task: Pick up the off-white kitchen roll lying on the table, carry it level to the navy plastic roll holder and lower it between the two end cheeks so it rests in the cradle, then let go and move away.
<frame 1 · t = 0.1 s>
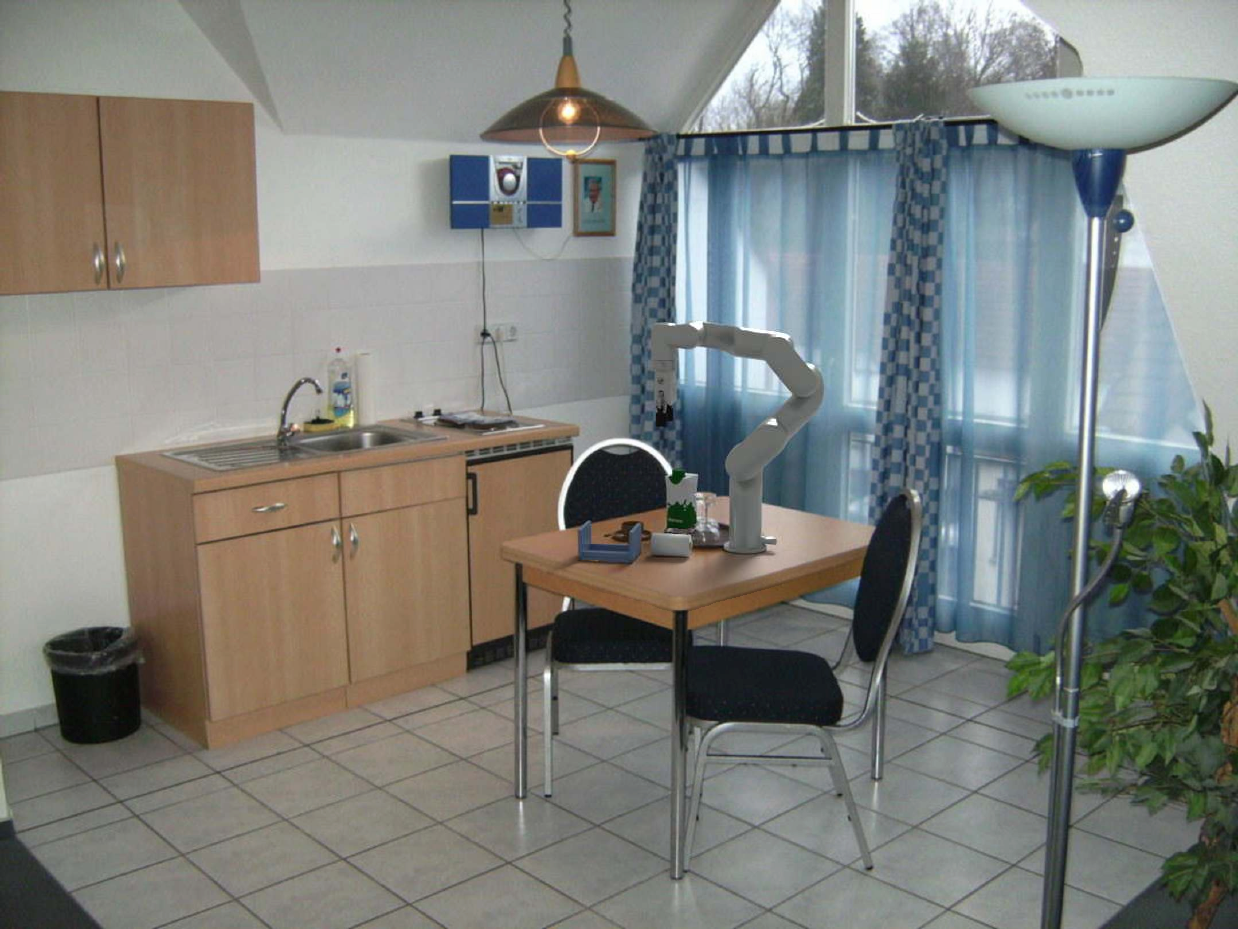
hand: (664, 423, 372), 37 cm above the table, tool pointing down, fingers open, 9 cm apart
roll: (671, 555, 367), on the table
holder: (610, 556, 367), on the table
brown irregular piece: (626, 542, 386), on the table
milk carton: (682, 532, 395), on the table
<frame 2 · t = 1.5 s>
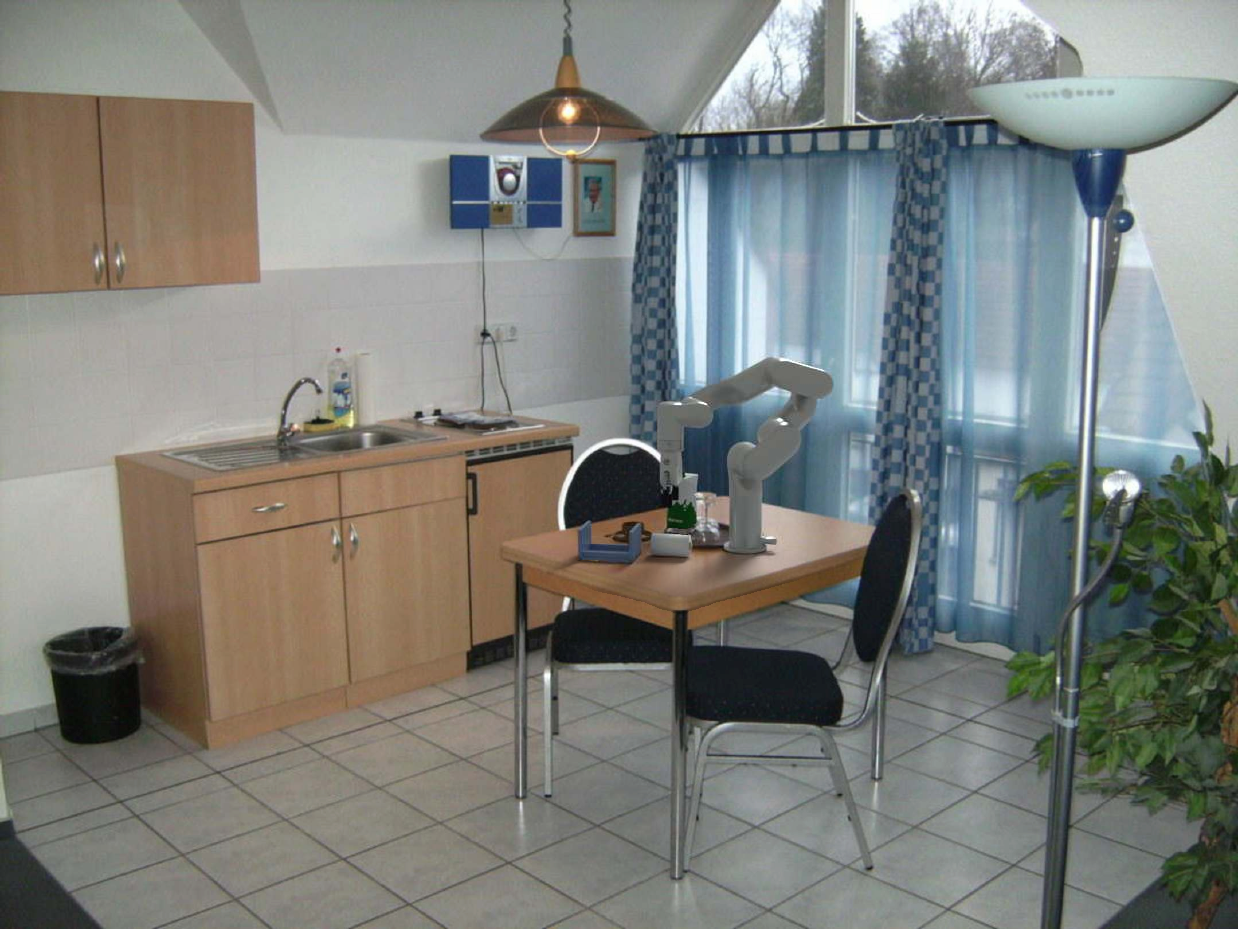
hand: (669, 503, 364), 15 cm above the table, tool pointing down, fingers open, 9 cm apart
roll: (671, 555, 367), on the table, tilted 6°
everything else where it was.
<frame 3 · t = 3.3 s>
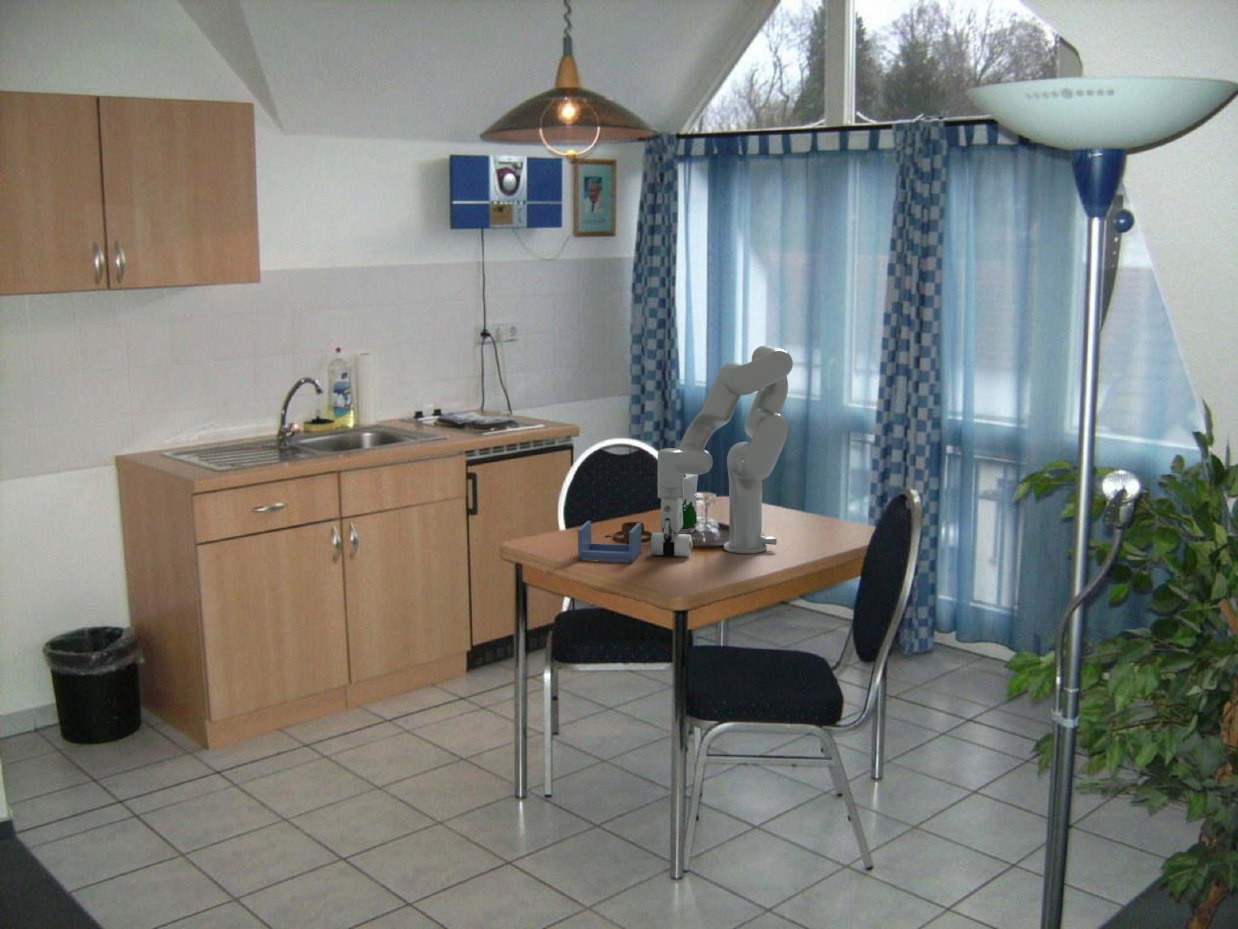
hand: (671, 551, 367), 1 cm above the table, tool pointing down, fingers closed on roll, 6 cm apart
roll: (671, 555, 367), on the table, touching gripper
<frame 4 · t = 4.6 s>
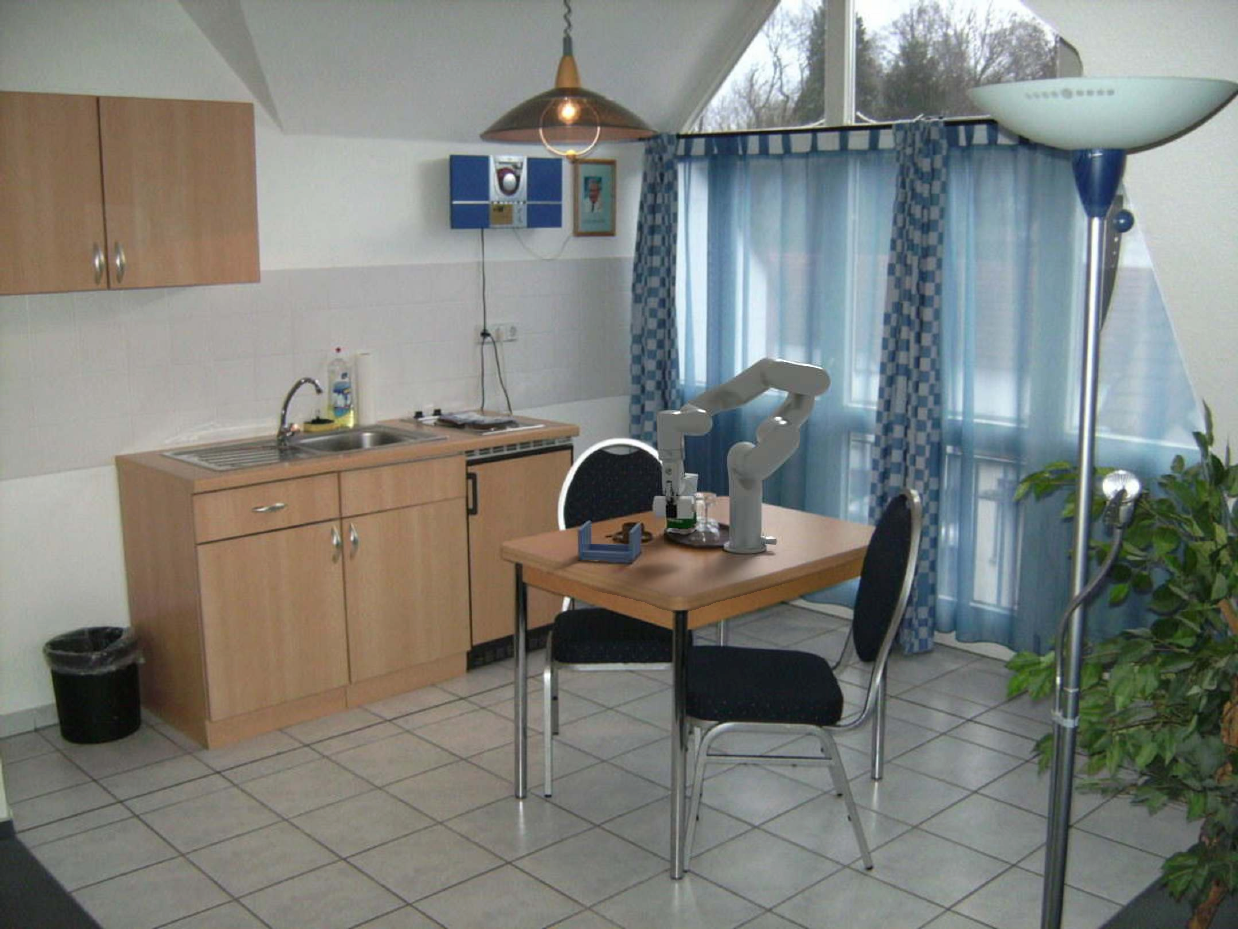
hand: (674, 514, 365), 12 cm above the table, tool pointing down, fingers closed on roll, 6 cm apart
roll: (674, 518, 366), point 11 cm above the table, touching gripper
when the fingers open (3 cm above the table, at t = 8.4 s): roll drops 1 cm, resting on holder.
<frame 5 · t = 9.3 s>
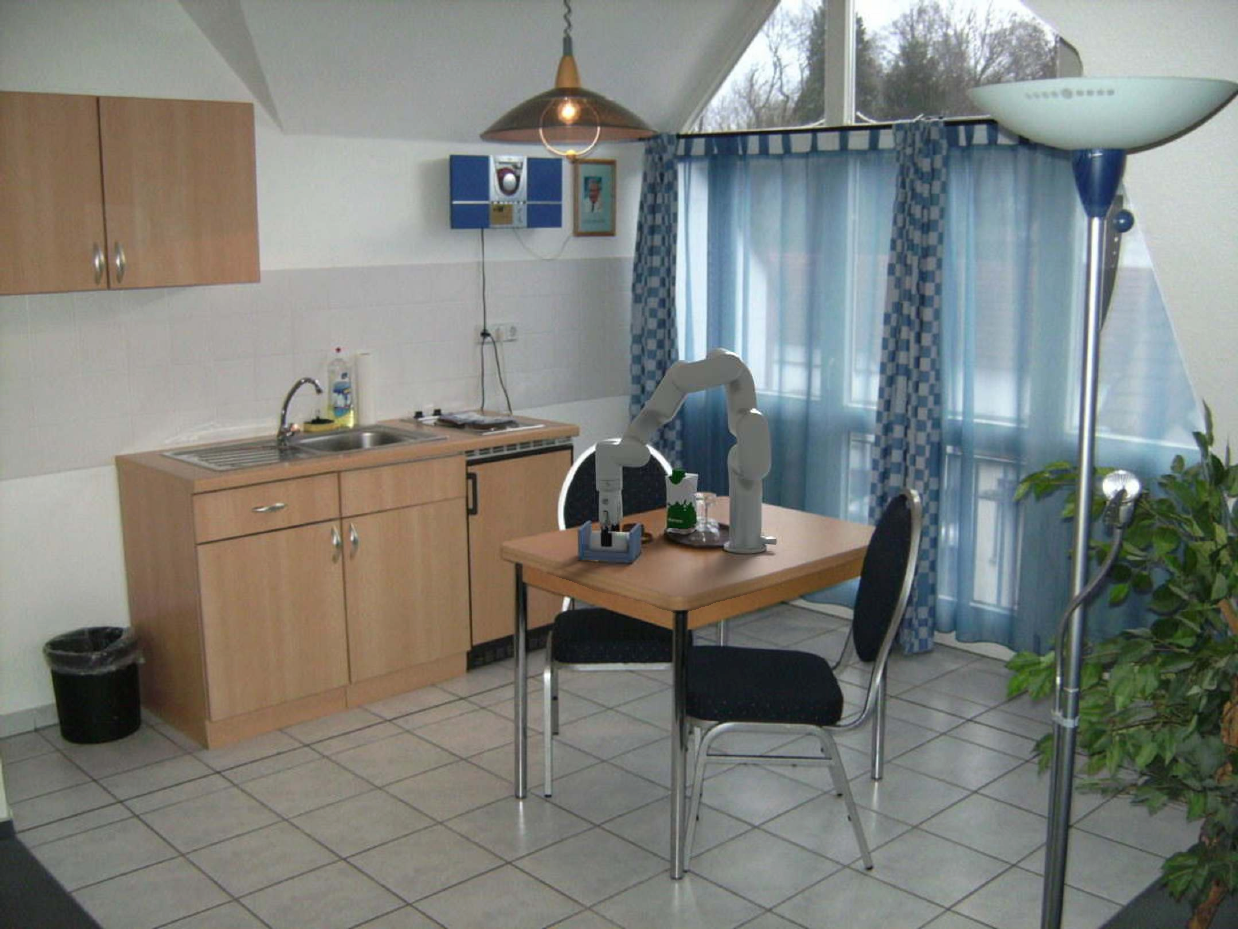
hand: (610, 542, 366), 4 cm above the table, tool pointing down, fingers open, 9 cm apart
roll: (610, 553, 366), point 1 cm above the table, touching holder
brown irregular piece: (625, 544, 383), on the table, touching gripper
everything else where it was.
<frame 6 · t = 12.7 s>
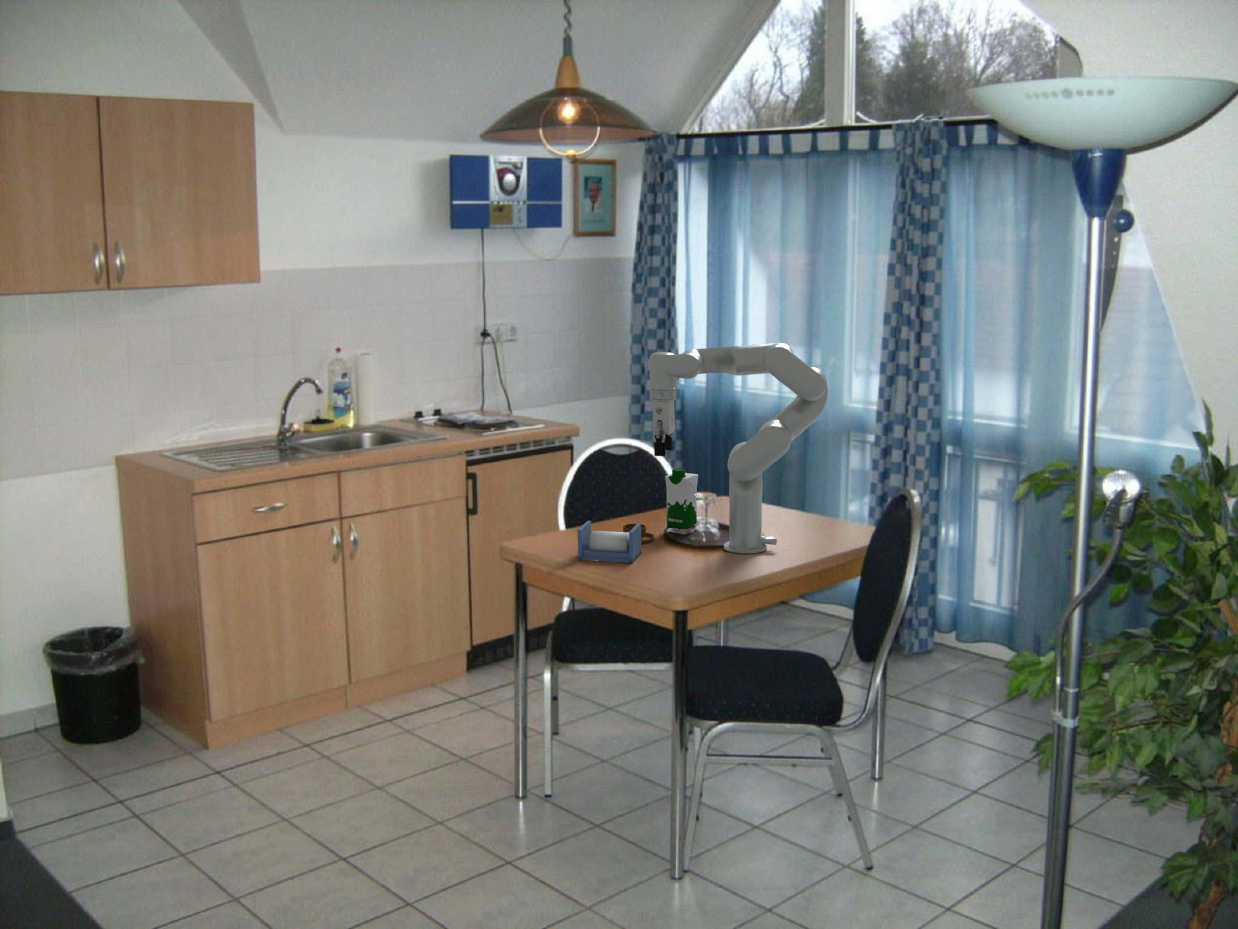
hand: (663, 452, 371), 28 cm above the table, tool pointing down, fingers open, 9 cm apart
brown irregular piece: (625, 545, 383), on the table
everything else where it was.
at the end: roll 0.1 cm off-centre on the holder, point 1.0 cm above the holder's base; the gripper is holding nothing; roll touching holder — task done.
